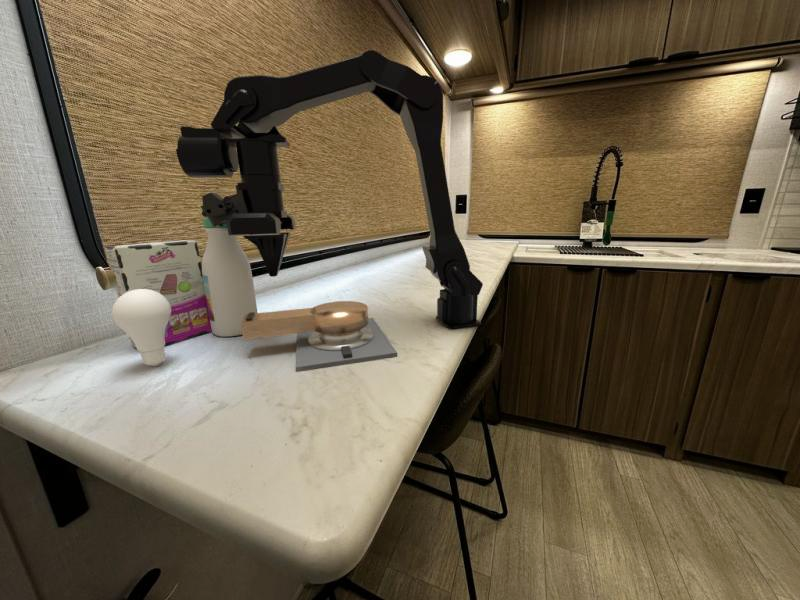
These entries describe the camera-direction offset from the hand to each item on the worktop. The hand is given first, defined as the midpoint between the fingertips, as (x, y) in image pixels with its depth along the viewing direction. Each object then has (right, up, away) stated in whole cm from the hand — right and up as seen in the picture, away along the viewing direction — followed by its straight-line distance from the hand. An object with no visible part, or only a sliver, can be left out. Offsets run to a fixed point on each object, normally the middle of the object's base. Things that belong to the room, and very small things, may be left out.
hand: (273, 276), depth 53 cm
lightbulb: (-13, -13, -8) cm, 21 cm away
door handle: (+7, -8, -3) cm, 11 cm away
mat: (+12, -11, -1) cm, 16 cm away
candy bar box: (-18, -11, +1) cm, 21 cm away
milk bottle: (-9, -10, +5) cm, 14 cm away
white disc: (+12, -11, -1) cm, 16 cm away
